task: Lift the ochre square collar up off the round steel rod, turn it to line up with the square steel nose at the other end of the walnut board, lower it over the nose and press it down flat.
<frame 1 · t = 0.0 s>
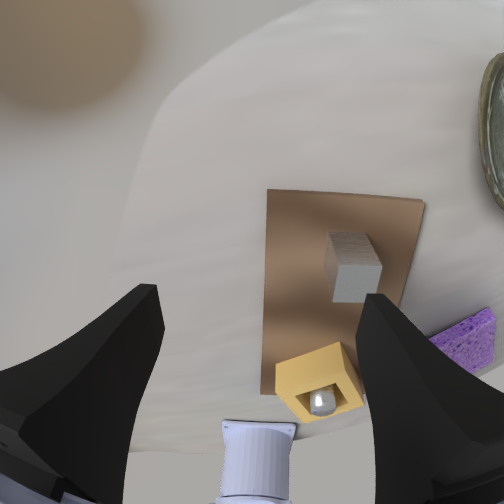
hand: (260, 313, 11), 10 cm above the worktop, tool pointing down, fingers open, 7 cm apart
collar: (319, 372, 26), point 1 cm above the worktop, touching stand board
stand board: (330, 315, 24), on the worktop
sponges: (433, 356, 25), on the worktop, touching stand board
lid: (501, 126, 16), on the worktop
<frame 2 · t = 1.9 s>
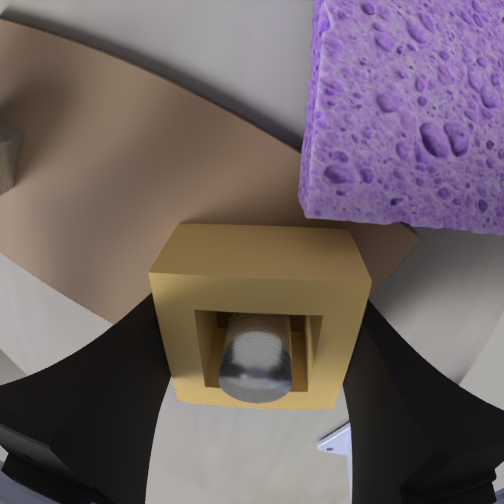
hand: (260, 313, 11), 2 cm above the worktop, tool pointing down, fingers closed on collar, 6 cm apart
collar: (261, 296, 12), point 1 cm above the worktop, touching gripper, stand board
stand board: (120, 210, 11), on the worktop
sponges: (418, 23, 7), on the worktop, touching stand board
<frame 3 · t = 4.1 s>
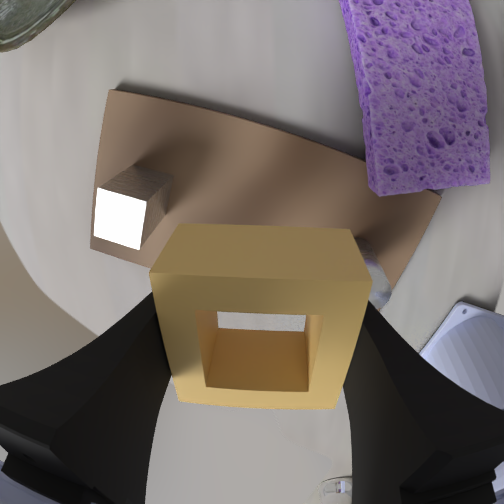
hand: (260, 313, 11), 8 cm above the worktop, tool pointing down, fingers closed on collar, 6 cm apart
collar: (262, 296, 12), point 7 cm above the worktop, touching gripper
stand board: (255, 216, 18), on the worktop
sponges: (413, 66, 13), on the worktop, touching stand board
beer glass: (338, 482, 37), on the worktop
when the fingers open (3 cm above the worktop, at t = 6.2 s): collar drops 1 cm, resting on stand board.
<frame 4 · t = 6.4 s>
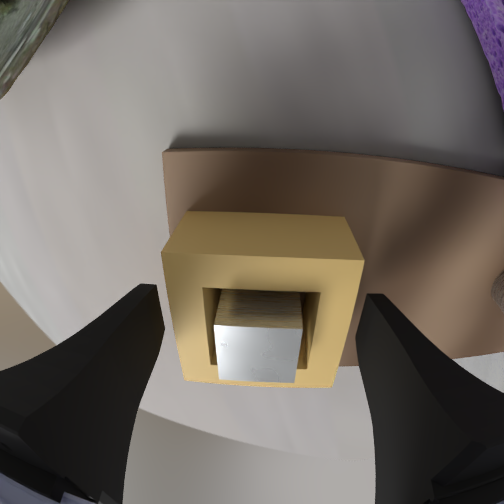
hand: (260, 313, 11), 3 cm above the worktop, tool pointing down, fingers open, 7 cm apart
collar: (263, 280, 13), point 1 cm above the worktop, touching stand board
stand board: (402, 276, 13), on the worktop
lid: (33, 4, 8), on the worktop
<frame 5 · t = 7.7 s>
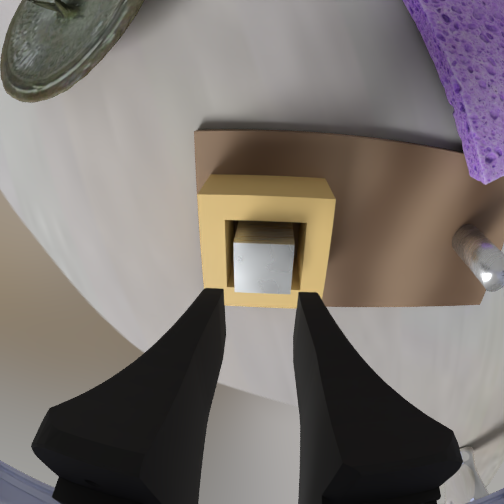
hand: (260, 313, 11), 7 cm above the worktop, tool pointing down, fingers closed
collar: (266, 227, 17), point 1 cm above the worktop, touching stand board
stand board: (374, 228, 17), on the worktop
sponges: (476, 52, 11), on the worktop, touching stand board
lid: (86, 12, 12), on the worktop
beer glass: (454, 455, 33), on the worktop
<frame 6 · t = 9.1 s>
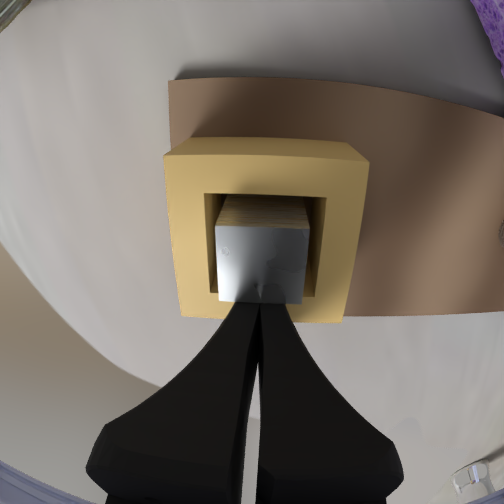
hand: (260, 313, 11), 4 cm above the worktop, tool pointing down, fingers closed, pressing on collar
collar: (266, 210, 12), point 1 cm above the worktop, touching gripper, stand board
stand board: (407, 214, 12), on the worktop
beer glass: (468, 468, 29), on the worktop
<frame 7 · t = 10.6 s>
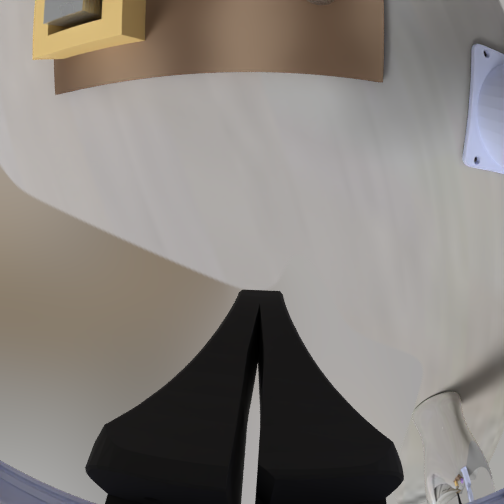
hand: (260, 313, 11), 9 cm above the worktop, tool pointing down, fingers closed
collar: (101, 6, 13), point 1 cm above the worktop, touching stand board
beer glass: (435, 405, 29), on the worktop
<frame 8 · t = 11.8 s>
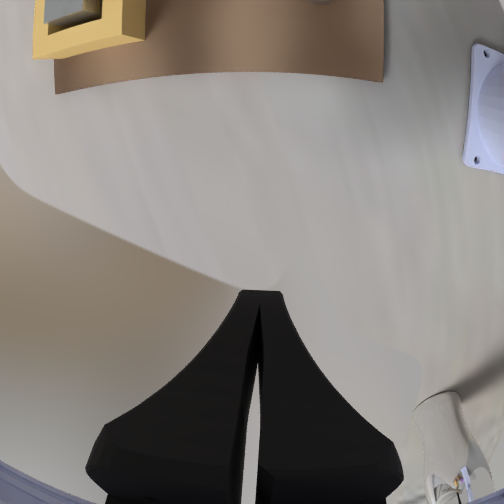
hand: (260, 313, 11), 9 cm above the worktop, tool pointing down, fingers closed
collar: (101, 6, 13), point 1 cm above the worktop, touching stand board
beer glass: (435, 405, 29), on the worktop
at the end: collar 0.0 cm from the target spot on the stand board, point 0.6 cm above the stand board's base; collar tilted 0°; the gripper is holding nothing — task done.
